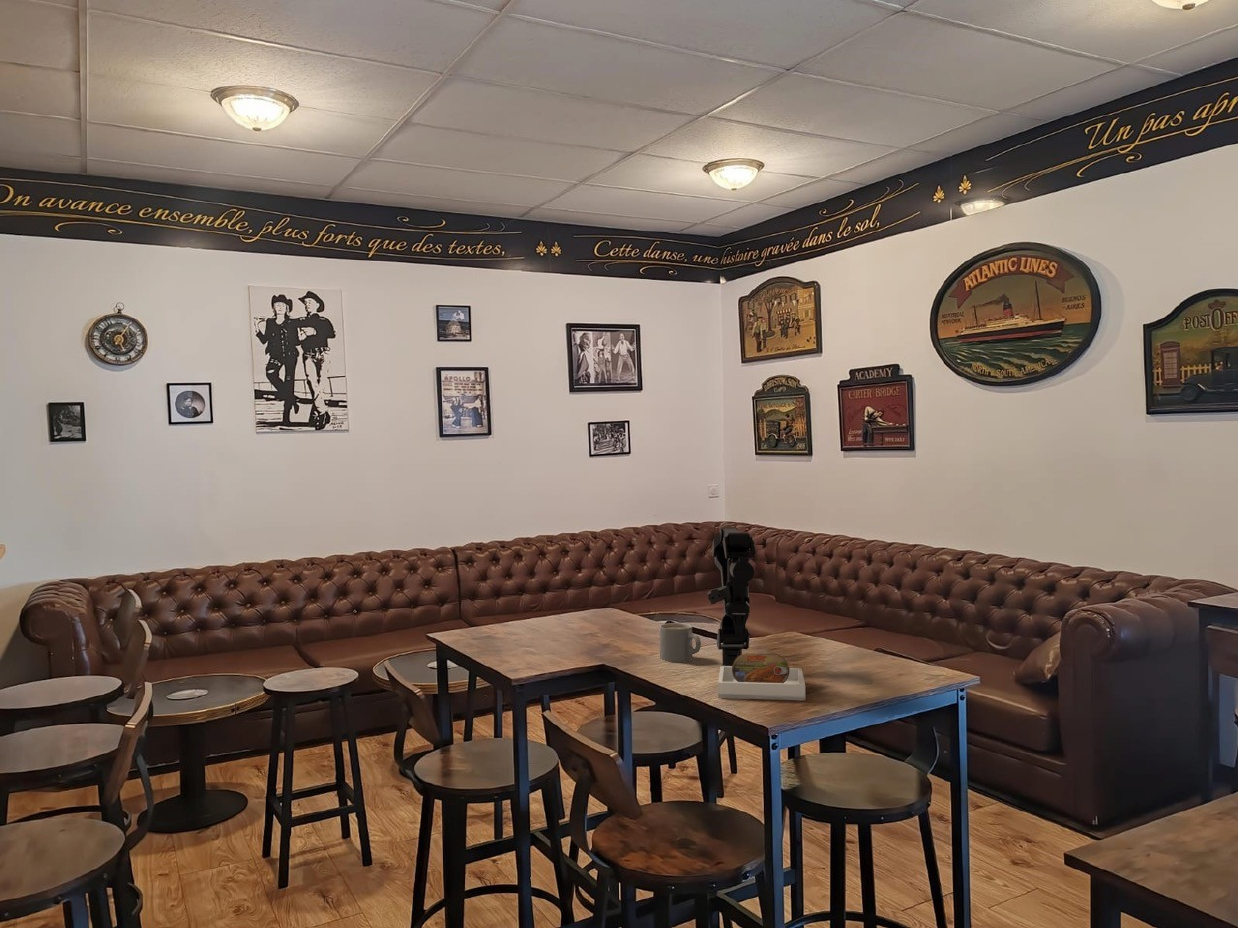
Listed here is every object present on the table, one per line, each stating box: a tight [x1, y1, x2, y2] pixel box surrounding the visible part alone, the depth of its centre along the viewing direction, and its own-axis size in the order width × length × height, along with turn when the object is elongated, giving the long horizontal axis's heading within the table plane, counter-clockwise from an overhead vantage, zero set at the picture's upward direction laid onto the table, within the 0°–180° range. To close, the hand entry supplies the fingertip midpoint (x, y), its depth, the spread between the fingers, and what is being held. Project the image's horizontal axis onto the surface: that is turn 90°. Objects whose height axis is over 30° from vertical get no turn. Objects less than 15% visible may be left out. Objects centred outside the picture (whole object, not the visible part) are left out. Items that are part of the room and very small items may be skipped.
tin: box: [732, 652, 790, 683], centre depth 240 cm, size 15×3×8 cm, turn 81°
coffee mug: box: [659, 622, 702, 663], centre depth 276 cm, size 13×10×10 cm
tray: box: [717, 665, 806, 701], centre depth 240 cm, size 18×22×4 cm
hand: (738, 633), depth 249 cm, fingers open, 9 cm apart
